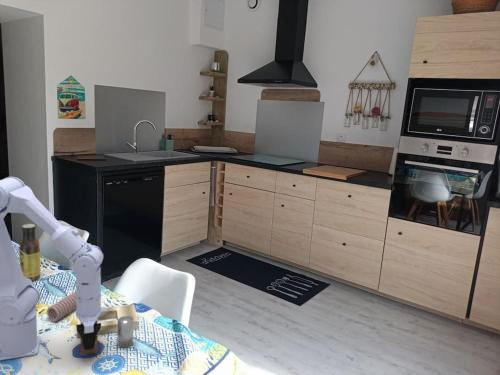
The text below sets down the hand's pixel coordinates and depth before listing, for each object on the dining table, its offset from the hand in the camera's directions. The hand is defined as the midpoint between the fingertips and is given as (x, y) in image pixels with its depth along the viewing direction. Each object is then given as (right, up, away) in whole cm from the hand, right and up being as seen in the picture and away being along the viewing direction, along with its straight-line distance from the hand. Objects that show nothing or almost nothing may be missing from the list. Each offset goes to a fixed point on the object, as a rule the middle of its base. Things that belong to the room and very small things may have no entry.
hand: (89, 342), depth 98 cm
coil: (-13, +3, +20) cm, 24 cm away
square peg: (0, -2, 0) cm, 2 cm away
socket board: (0, 0, +12) cm, 12 cm away
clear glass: (+8, -2, +4) cm, 9 cm away
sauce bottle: (-36, +8, +36) cm, 52 cm away
